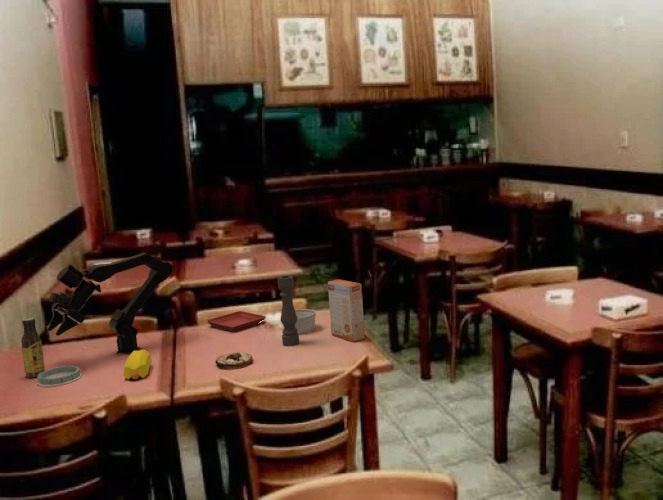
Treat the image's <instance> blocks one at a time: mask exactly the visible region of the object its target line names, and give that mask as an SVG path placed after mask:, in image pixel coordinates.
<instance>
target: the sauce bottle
mask: <svg viewBox="0 0 663 500" xmlns="http://www.w3.org/2000/svg"><path fill="white" fill-rule="evenodd" d="M21 322H22V323H21V324H22V325H23V326H22V327H23V336H22V337H21V346H22V347H21V352H22V358H23V359H22V360H23V366H24V373H25V376H26V378H31V379H33V378H37V376H38V375H39V373H41V372H43V371H45V370H46V367H45V358H44V351H43V350H44V349H43V344H42V343H43V342H42V339H41V338H40V336H39V334H38V332H37V329H36V318H35V317H28V318H27V317H26V318H23V319H21Z"/></svg>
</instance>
